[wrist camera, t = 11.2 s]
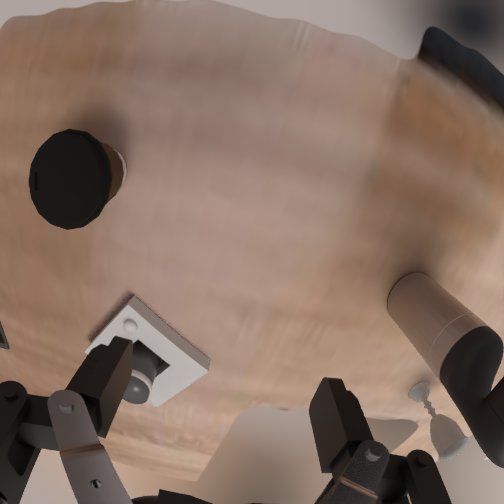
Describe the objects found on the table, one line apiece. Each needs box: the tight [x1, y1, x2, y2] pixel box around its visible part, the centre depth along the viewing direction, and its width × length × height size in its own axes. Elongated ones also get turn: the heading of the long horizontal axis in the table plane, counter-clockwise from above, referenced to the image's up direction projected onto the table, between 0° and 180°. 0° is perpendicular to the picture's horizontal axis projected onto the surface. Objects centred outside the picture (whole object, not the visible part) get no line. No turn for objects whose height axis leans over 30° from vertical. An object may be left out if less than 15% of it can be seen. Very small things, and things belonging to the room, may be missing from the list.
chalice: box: [408, 381, 470, 462], centre depth 44 cm, size 7×7×18 cm
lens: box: [122, 341, 162, 404], centre depth 42 cm, size 5×5×10 cm
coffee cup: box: [29, 129, 127, 230], centre depth 32 cm, size 11×11×12 cm
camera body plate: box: [85, 295, 210, 408], centre depth 45 cm, size 16×14×4 cm
